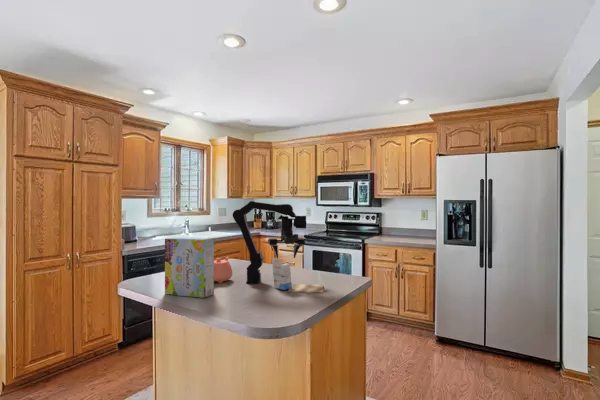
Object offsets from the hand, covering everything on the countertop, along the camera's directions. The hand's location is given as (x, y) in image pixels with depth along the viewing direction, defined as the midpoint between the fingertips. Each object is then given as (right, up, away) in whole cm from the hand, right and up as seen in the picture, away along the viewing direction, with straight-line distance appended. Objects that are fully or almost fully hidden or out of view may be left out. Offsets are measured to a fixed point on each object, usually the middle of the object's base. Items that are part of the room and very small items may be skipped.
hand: (285, 258), depth 174 cm
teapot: (-36, -13, +4) cm, 38 cm away
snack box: (-43, -13, -22) cm, 50 cm away
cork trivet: (+10, -13, -13) cm, 21 cm away
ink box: (-1, -12, -12) cm, 18 cm away
